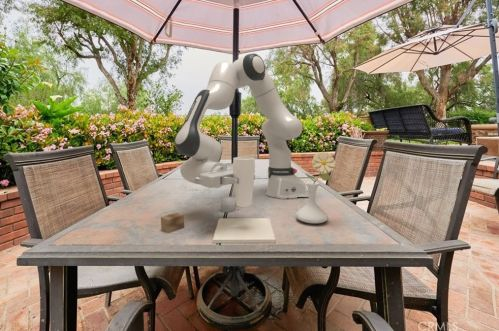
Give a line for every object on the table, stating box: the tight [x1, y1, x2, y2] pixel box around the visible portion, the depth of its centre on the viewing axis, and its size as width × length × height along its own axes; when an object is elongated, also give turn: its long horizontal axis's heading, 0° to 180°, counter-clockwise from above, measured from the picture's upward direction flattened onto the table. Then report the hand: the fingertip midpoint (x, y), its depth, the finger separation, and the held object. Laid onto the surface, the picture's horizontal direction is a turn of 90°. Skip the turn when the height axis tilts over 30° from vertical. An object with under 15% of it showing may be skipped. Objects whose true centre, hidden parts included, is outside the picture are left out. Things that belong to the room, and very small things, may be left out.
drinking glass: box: [232, 156, 256, 208], centre depth 79 cm, size 7×7×15 cm
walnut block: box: [160, 212, 185, 234], centre depth 82 cm, size 6×4×4 cm, turn 141°
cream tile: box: [212, 217, 276, 244], centre depth 81 cm, size 18×18×1 cm
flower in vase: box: [295, 151, 337, 224], centre depth 89 cm, size 13×11×25 cm
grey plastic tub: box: [220, 196, 237, 213], centre depth 103 cm, size 6×6×5 cm
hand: (246, 179), depth 79 cm, fingers closed on drinking glass, 6 cm apart
